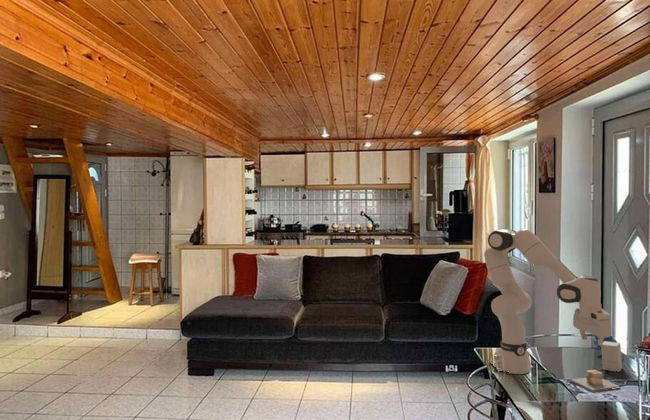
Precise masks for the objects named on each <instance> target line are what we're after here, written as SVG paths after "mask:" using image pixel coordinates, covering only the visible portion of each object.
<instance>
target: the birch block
mask: <svg viewBox="0 0 650 420" xmlns="http://www.w3.org/2000/svg"><path fill="white" fill-rule="evenodd" d="M585 372H586V374H585V375H586V377H587V382H589V383H591V384H593V385H597V384H603V380H602V379H603V372H601V371H599V370H596V369H589V370H588V369H587V370H585ZM586 377H585V378H586Z"/></svg>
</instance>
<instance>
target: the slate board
mask: <svg viewBox="0 0 650 420" xmlns="http://www.w3.org/2000/svg"><path fill="white" fill-rule="evenodd" d="M602 380H603V384H597V385H593V384H591V383H589V382H587V377H581V378H580V377H579V378H572V379H570V382H571V383H572V384H575V385H577V386H578V387H581V388H583V389H585V390H587V391H590V392H591V391H592V393H595V391H597V392H602V391H601V390H605V391H607V390H606V389H612V388H616V387H620V388H621V385H619V384H616V383H613V382H612V381H609V380H606V379H605V378H602Z"/></svg>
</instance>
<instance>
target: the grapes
mask: <svg viewBox="0 0 650 420" xmlns="http://www.w3.org/2000/svg"><path fill="white" fill-rule="evenodd" d="M598 339H599V338H598V335H595V334H594V340H593V344H594V345H595V346H596V350H597V351H598V352H601V345H597V341H598ZM604 341H607V342H616V343H618V341H617V340H616V339H614V337H613V336H612V335H611V336H610V337H604V340H603V341H602V343H603V342H604Z"/></svg>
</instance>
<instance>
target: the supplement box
mask: <svg viewBox="0 0 650 420" xmlns="http://www.w3.org/2000/svg"><path fill="white" fill-rule="evenodd" d="M600 352H601V363H602V364H601V365H602V370H605V371H611V372H616V371H617V372H620V371H621V370H622V369H623V365H622V349H621V342H617V343H616V342H607V341H604V342H603V343H602V345H601V351H600ZM617 372H616V373H617Z"/></svg>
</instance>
